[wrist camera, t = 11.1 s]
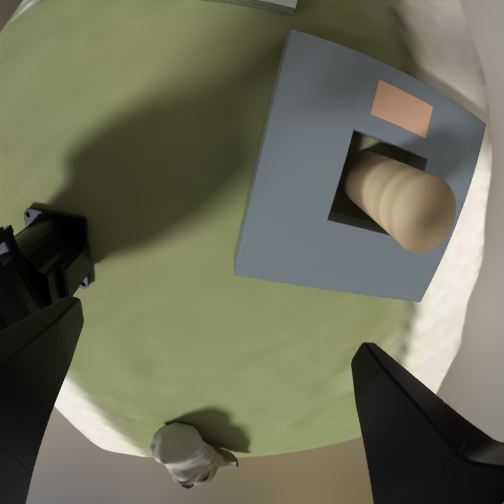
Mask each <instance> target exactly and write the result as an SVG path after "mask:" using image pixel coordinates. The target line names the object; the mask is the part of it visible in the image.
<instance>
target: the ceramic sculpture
mask: <svg viewBox="0 0 504 504" xmlns="http://www.w3.org/2000/svg"><path fill="white" fill-rule="evenodd" d="M150 449H151V450H152V454H153V457H154V458H155V459H156V461H157V462H159V463H162V464H165V466H166V468H167V469H168V471H169V472H170V473H171V476H172V478H173V479H174V480H175V481H176V482H177V483H179V484H181V486H183V487H184V488H191V487H192V486H193V485H194V484H205V483H208V482H209V481H211V480H212V479H213V477H214V476H215V474H216V472H217V470H218V468H219V466H221V467H224V466H228V465H231V466H236V467H238V461H237V459H236V457H235V456H234V455H233V454H232V453H230V452H229V451H226V450H223V449H219V448H213V447H212V446H210V445H209V444H207V443H206V442H204V441H202V437H201V435H200V434H199V432H198V431H197V429H196V428H195V427H193V426H191V425H186V424H182V423H172V424H170V425H167V426H164V427H162V428H160V429H159V430H158V431H157V432H156V433H155V435H154V437H153V439H152V442H151V446H150Z"/></svg>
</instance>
